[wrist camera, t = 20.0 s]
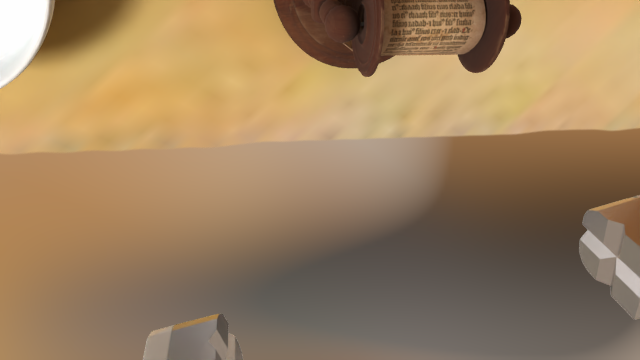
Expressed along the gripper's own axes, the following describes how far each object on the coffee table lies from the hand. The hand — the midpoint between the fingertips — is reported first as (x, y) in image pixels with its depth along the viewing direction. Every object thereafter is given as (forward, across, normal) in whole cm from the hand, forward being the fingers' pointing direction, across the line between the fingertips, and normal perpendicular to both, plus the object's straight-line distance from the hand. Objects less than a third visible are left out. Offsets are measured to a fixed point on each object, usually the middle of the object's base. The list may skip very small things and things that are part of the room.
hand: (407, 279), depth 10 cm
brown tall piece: (+35, +7, 0) cm, 36 cm away
